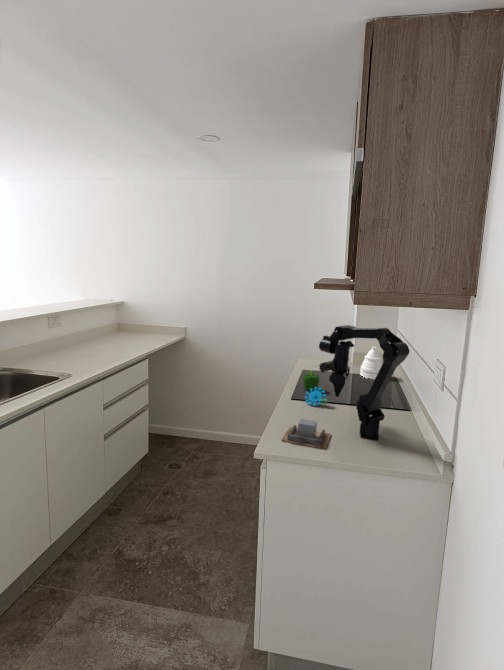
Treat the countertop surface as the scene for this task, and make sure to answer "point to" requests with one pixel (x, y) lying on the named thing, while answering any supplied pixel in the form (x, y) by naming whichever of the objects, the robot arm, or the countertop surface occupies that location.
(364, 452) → the countertop surface
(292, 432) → the dock
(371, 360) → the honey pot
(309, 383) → the bell pepper
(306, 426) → the block
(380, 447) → the countertop surface
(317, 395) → the blue splash shape
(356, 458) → the countertop surface
